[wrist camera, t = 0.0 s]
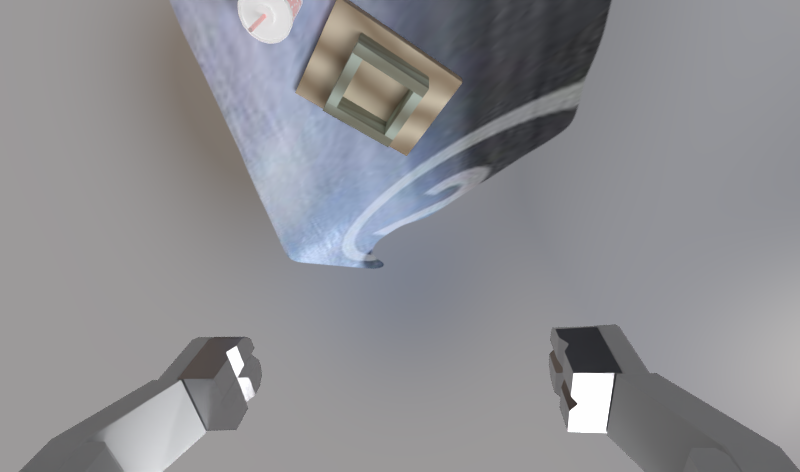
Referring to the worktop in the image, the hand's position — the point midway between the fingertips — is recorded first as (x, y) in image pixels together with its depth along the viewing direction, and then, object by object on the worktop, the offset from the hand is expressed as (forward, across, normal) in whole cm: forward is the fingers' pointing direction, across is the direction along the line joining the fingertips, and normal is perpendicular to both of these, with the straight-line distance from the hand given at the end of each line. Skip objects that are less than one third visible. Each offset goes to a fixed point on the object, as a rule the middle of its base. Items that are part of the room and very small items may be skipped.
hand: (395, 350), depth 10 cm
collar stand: (+54, +8, -3) cm, 54 cm away
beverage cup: (+50, +18, -16) cm, 55 cm away
